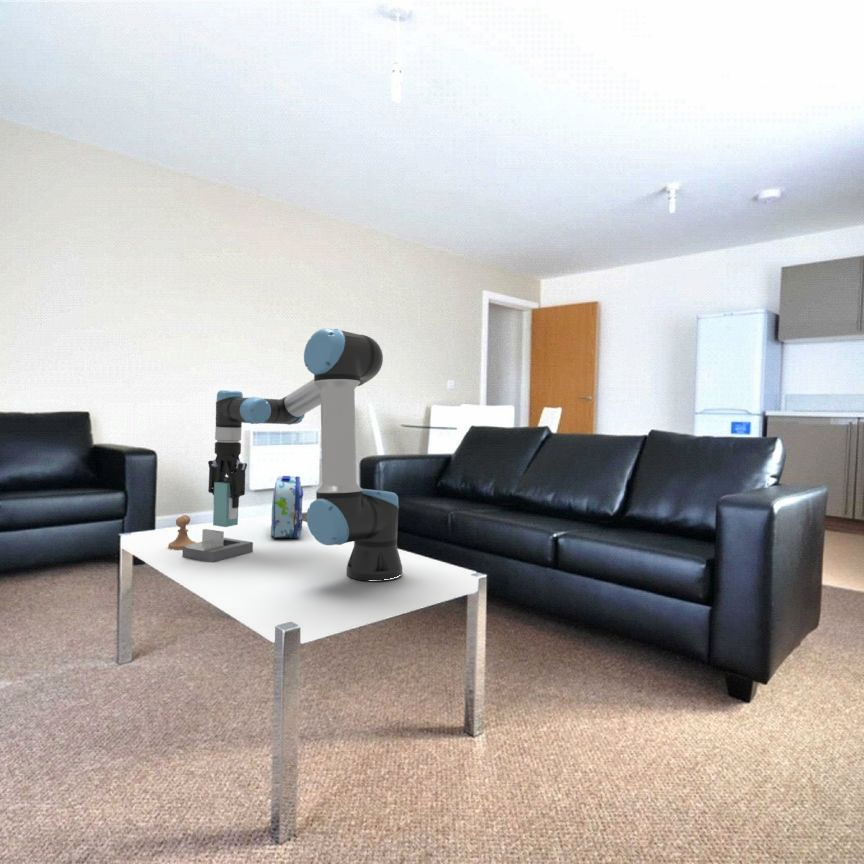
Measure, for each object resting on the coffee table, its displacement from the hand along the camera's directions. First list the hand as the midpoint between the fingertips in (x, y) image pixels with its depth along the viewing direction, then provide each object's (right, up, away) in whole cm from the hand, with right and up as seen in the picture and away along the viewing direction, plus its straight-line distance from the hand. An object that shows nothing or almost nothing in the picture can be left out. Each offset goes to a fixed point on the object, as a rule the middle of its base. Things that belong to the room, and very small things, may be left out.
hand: (225, 517), depth 177 cm
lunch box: (+10, -11, +32) cm, 35 cm away
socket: (-1, -11, -2) cm, 11 cm away
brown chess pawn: (-16, -10, +5) cm, 19 cm away
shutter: (-4, -8, -7) cm, 11 cm away
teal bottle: (0, -2, 0) cm, 2 cm away
